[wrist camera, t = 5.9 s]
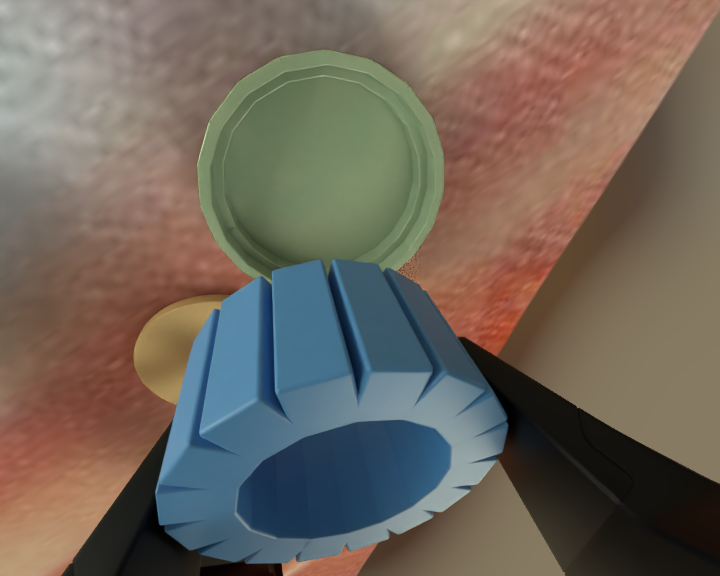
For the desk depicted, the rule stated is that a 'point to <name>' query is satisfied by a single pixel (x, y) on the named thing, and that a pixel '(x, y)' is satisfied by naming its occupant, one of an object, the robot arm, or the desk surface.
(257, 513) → the blue gear
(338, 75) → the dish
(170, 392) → the tape holder
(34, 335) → the desk surface
